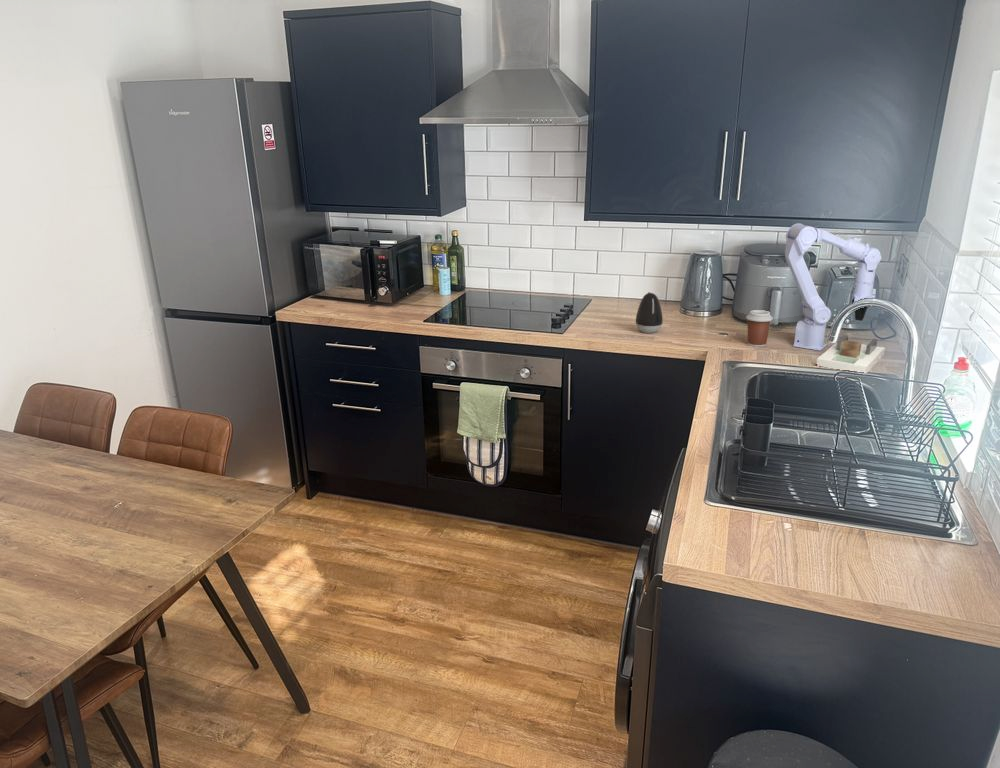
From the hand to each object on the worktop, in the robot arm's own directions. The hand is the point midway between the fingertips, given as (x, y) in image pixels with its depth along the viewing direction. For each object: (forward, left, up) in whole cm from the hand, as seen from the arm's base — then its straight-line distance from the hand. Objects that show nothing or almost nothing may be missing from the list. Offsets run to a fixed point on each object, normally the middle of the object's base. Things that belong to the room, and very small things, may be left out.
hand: (859, 320), depth 259 cm
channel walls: (+3, -13, -7) cm, 15 cm away
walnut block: (+3, -21, -7) cm, 23 cm away
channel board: (+3, -19, -9) cm, 21 cm away
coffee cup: (-29, -18, -10) cm, 35 cm away
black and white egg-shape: (-69, -24, -10) cm, 74 cm away
